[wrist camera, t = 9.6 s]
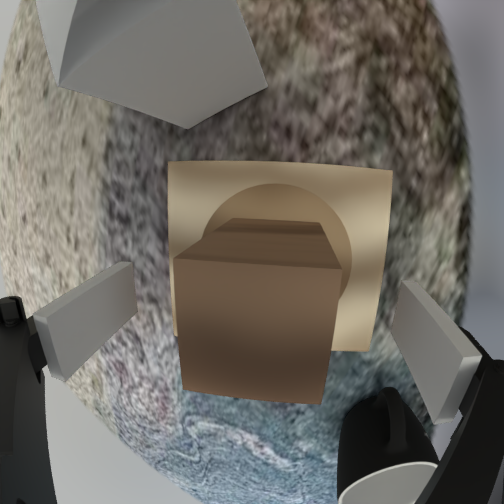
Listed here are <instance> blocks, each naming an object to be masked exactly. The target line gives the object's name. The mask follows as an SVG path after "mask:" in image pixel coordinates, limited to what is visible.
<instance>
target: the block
mask: <svg viewBox="0 0 504 504" xmlns="http://www.w3.org/2000/svg"><path fill="white" fill-rule="evenodd" d="M173 274H174V293H175V309H176V323H177V335H178V346H179V357H180V367H181V376H182V385H183V390H189V391H195V392H201V393H207V394H213V395H220V396H227V397H235V398H243V399H252V400H262V401H273V402H285V403H301V404H321V402H322V397H323V392H324V387H325V382H326V376H327V371H328V366H329V360H330V354H331V348H332V342H333V336H334V330H335V323H336V316H337V309H338V302H339V294H340V286H341V278H342V268H341V265H340V263H339V261H338V259H337V257H336V255H335V253H334V251H333V249H332V246H331V244H330V242H329V240H328V238H327V236H326V234H325V232H324V230H323V228H322V226H321V224H320V223H318V222H302V221H285V220H266V219H246V218H232V219H230V220H229V221H227V222H226V223H224V224H223V225H221V226H220V227H218V228H217V229H215V230H214V231H212V232H211V233H209V234H208V235H206V236H205V237H203V238H202V239H200V240H199V241H198V242H196V243H195V244H193V245H192V246H190V247H189V248H187V249H186V250H184V251H183V252H181V253H180V254H178V255H177V256H176V257H174V258H173Z"/></svg>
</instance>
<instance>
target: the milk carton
mask: <svg viewBox="0 0 504 504" xmlns="http://www.w3.org/2000/svg"><path fill="white" fill-rule="evenodd" d="M36 5H37V10H38V15H39V19H40V24H41V29H42V33H43V37H44V41H45V45H46V49H47V53H48V57H49V61H50V64H51V68H52V71H53V75H54V78H55V81H56V84H57V86H58V87H63V88H66V89H70V90H73V91H77V92H80V93H84V94H87V95H90V96H94V97H97V98H100V99H103V100H106V101H109V102H113V103H116V104H119V105H122V106H125V107H128V108H131V109H133V110H136V111H139V112H142V113H145V114H148V115H150V116H153V117H156V118H159V119H161V120H164V121H167V122H169V123H172V124H175V125H177V126H180V127H182V128H185V129H190V128H191V127H193V126H195V125H196V124H198V123H200V122H202V121H203V120H205V119H207V118H209V117H211V116H212V115H214V114H216V113H218V112H220V111H221V110H223V109H225V108H227V107H229V106H231V105H233V104H235V103H237V102H239V101H240V100H242V99H244V98H246V97H248V96H250V95H252V94H254V93H256V92H258V91H261V90H263V89H265V88H267V87H268V85H267V82H266V79H265V76H264V74H263V71H262V68H261V65H260V62H259V59H258V57H257V54H256V51H255V48H254V46H253V43H252V40H251V38H250V35H249V32H248V30H247V27H246V25H245V22H244V19H243V17H242V14H241V12H240V9H239V7H238V4H237V2H236V0H36Z"/></svg>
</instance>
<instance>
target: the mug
mask: <svg viewBox="0 0 504 504" xmlns="http://www.w3.org/2000/svg"><path fill="white" fill-rule="evenodd" d="M439 462H440V461H439V460H438V457H437V454H436V452H435V450H434V447H433V445H432V443H431V441H430V439H429V437H428V435H427V433H426V432H425V430H424V428H423V426H422V425H421V423H420V422H419V420H418V419H417V417H416V416H415V414H414V413H413V412H412V410H411V409H410V408H409V407H408V406H407V405H406V404H405V403H404V402H403V401H402V400H401V397H400V394H399V392H398V391H397V390H396V389H395V388H393V387H386V388H384V389H382V390H381V391H380V392H379V394H378V396H376V397H372V398H369V399H366V400H364V401H362V402H360V403H359V404H357V405H356V406H355V407H354V408H353V409H352V410H351V411H350V412H349V413H348V415H347V416H346V418H345V420H344V423H343V425H342V429H341V434H340V441H339V449H338V464H337V499H338V504H414V503H415V502H416V500H417V499H418V497H419V496H420V494H421V493H422V491H423V489H424V488H425V486H426V485H427V483H428V481H429V480H430V478H431V476H432V475H433V473H434V471H435V469H436V468H437V466H438V464H439Z"/></svg>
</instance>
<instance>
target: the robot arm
mask: <svg viewBox="0 0 504 504" xmlns="http://www.w3.org/2000/svg"><path fill="white" fill-rule="evenodd" d="M137 312H138V310H137V302H136V293H135V284H134V274H133V263H132V262H122V261H120V262H118V263H116V264H115V265H113V266H111V267H109V268H108V269H106V270H104V271H102V272H101V273H99V274H97V275H96V276H94V277H92V278H90V279H89V280H87V281H85V282H84V283H82V284H80V285H79V286H77V287H75V288H74V289H72V290H70V291H69V292H67V293H65V294H64V295H62V296H61V297H59V298H57V299H56V300H54V301H52V302H51V303H49V304H48V305H46V306H44V307H43V308H41V309H40V310H38V311H36V312H35V313H33V315H32V316H31V317H29V318H28V319H26V315H25V311H24V307H23V303H22V298H20V297H17V296H9V297H5V298H2V299H0V504H57V500H56V495H55V490H54V484H53V478H52V472H51V466H50V458H49V450H48V441H47V429H46V414H45V376H44V373H43V371H42V368H43V367H44V366H46V365H48V368H49V371H50V373H51V376H52V377H54V378H56V379H59V380H61V381H64V382H66V381H67V380H68V379H69V378H70V377H71V376H72V375H73V374H74V373H75V372H76V371H77V370H78V369H79V368H80V367H81V366H82V365H83V364H84V363H85V362H86V361H87V360H88V359H89V358H90V357H91V356H92V355H93V354H94V353H95V352H96V351H97V350H98V349H99V348H100V347H101V346H102V345H103V344H104V343H105V342H106V341H107V340H109V339H110V338H111V337H112V336H113V335H114V334H115V333H116V332H117V331H118V330H119V329H120V328H121V327H122V326H123V325H124V324H125V323H126V322H127V321H128V320H129V319H131V318H132V317H133V316H134V315H135V314H136V313H137ZM391 334H392V335H393V337H394V339H395V341H396V343H397V345H398V347H399V349H400V351H401V354H402V356H403V358H404V360H405V362H406V364H407V366H408V368H409V370H410V372H411V374H412V377H413V379H414V381H415V383H416V385H417V387H418V390H419V392H420V394H421V396H422V399H423V401H424V403H425V405H426V408H427V410H428V412H429V415H430V417H431V419H432V422H433V424H434V425H435V424H442V423H448V422H452V421H453V419H454V417H455V415H456V413H457V411H458V409H459V410H460V412H461V414H462V415H463V417H462V419H461V421H460V422H459V424H458V426H457V428H456V430H455V431H454V433H453V435H452V436H451V438H450V439H451V441H450V443H449V445H448V447H447V449H446V451H445V453H444V455H443V457H442V459H441V460H440V462H439V464H438V466H437V468H436V469H435V471H434V473H433V475H432V476H431V478H430V480H429V481H428V483H427V485H426V486H425V488H424V489H423V491H422V493H421V494H420V496H419V497H418V499H417V500H416V502H415V503H414V504H487V503H488V501H489V498H490V496H491V493H492V490H493V488H494V485H495V482H496V479H497V476H498V472H499V470H500V467H501V463H502V459H503V456H504V360H493V359H492V358H491V357H490V356H489V354H488V353H487V352H486V351H485V350H484V348H483V347H482V346H481V345H480V344H479V343H478V342H477V340H475V338H474V337H473V336H472V335H471V334H470V332H468V331H467V330H465V329H464V328H462V327H460V326H457V325H456V324H455V323H454V322H453V321H452V320H451V318H450V317H449V316H448V315H447V314H446V313H445V312H444V311H443V310H442V308H441V307H440V306H439V305H438V304H437V303H436V302H435V301H434V300H433V299H432V298H431V297H430V295H429V294H428V293H427V292H426V291H425V290H424V289H423V288H422V287H421V286H420V285H419V284H418V283H417V282H416V281H404V280H401V286H400V291H399V297H398V302H397V307H396V311H395V316H394V321H393V325H392V329H391ZM502 504H504V480H503V494H502Z"/></svg>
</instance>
